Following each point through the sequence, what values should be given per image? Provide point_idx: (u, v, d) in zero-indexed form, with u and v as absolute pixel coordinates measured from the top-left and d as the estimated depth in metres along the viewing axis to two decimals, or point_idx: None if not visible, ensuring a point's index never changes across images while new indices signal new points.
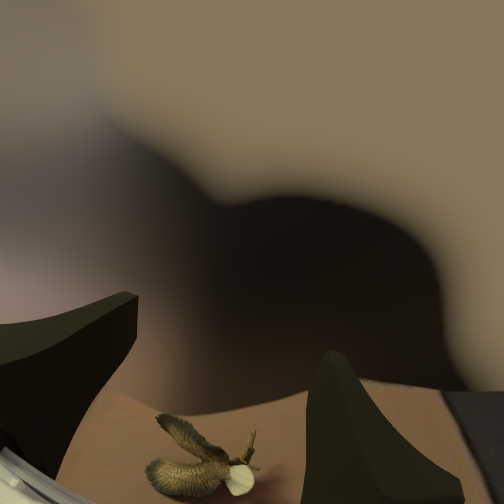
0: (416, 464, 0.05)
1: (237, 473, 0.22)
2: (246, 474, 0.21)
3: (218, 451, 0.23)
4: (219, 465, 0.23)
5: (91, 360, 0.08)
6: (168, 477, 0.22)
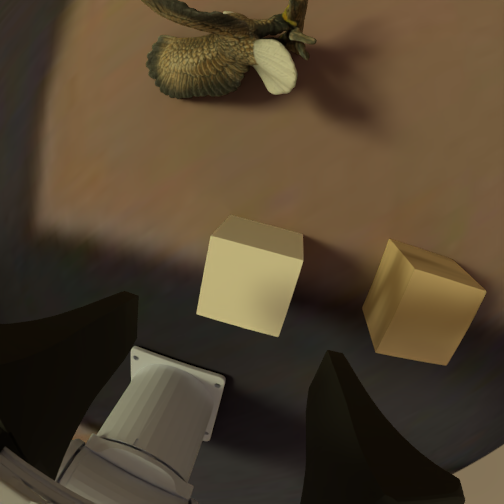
0: (416, 464, 0.05)
1: (266, 55, 0.12)
2: (281, 59, 0.11)
3: (220, 19, 0.10)
4: (235, 40, 0.12)
5: (91, 360, 0.08)
6: (169, 71, 0.15)
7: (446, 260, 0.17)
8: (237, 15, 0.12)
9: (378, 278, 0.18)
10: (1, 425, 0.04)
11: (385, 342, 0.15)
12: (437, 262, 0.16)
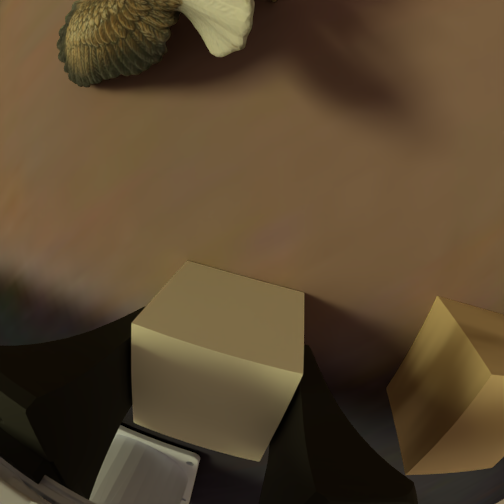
0: (366, 462, 0.05)
1: None
2: None
3: None
4: None
5: (126, 375, 0.08)
6: (70, 47, 0.08)
7: None
8: None
9: (417, 356, 0.11)
10: (42, 455, 0.04)
11: (422, 463, 0.08)
12: None
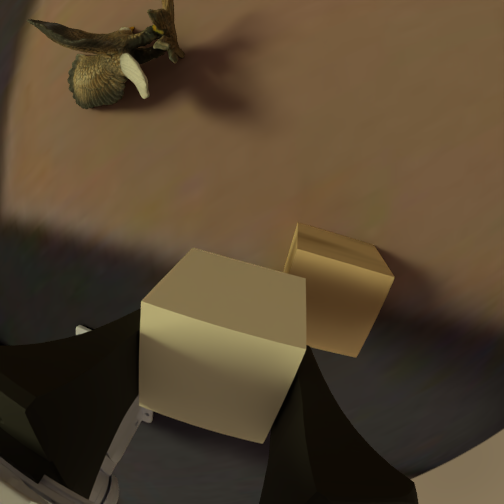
0: (366, 462, 0.05)
1: (127, 67, 0.13)
2: (134, 69, 0.13)
3: (89, 44, 0.12)
4: (108, 57, 0.13)
5: (126, 375, 0.08)
6: (76, 86, 0.16)
7: (362, 245, 0.18)
8: (119, 32, 0.13)
9: (286, 262, 0.19)
10: (42, 454, 0.04)
11: None
12: (344, 246, 0.17)
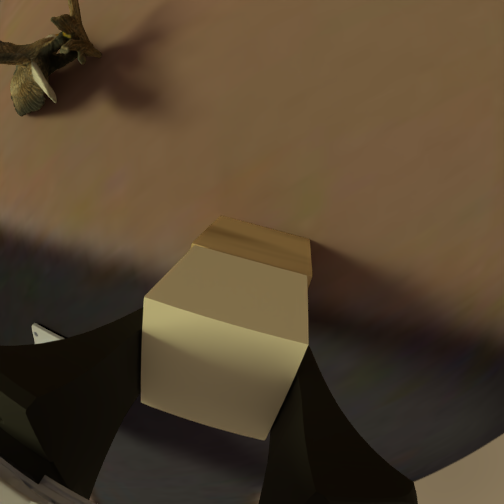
0: (366, 462, 0.05)
1: (35, 75, 0.11)
2: (38, 76, 0.11)
3: (4, 58, 0.10)
4: (24, 67, 0.12)
5: (126, 375, 0.08)
6: (12, 96, 0.15)
7: (291, 239, 0.16)
8: (38, 41, 0.12)
9: None
10: (42, 455, 0.04)
11: None
12: (262, 240, 0.15)
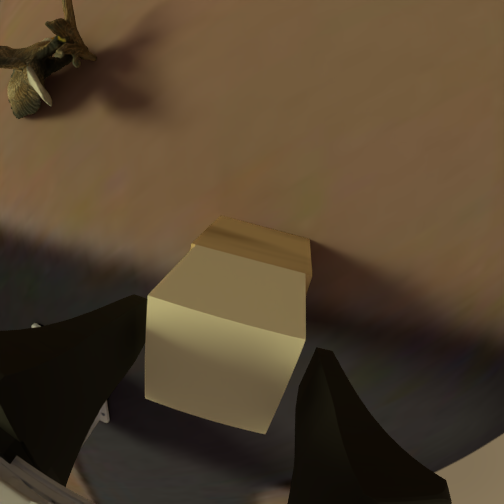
0: (401, 464, 0.05)
1: (31, 79, 0.12)
2: (33, 81, 0.11)
3: (0, 62, 0.10)
4: (20, 71, 0.12)
5: (102, 365, 0.08)
6: (9, 99, 0.15)
7: (290, 239, 0.16)
8: (34, 45, 0.12)
9: None
10: (13, 434, 0.04)
11: None
12: (262, 240, 0.15)
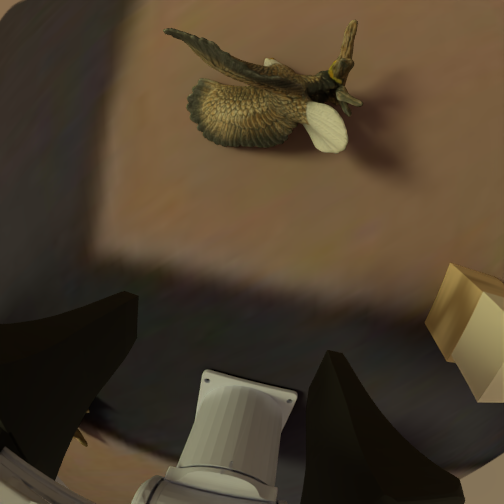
0: (416, 464, 0.05)
1: (318, 118, 0.14)
2: (334, 124, 0.13)
3: (278, 82, 0.12)
4: (288, 99, 0.14)
5: (91, 360, 0.08)
6: (215, 120, 0.17)
7: (493, 279, 0.18)
8: (285, 69, 0.14)
9: (442, 297, 0.19)
10: (1, 425, 0.04)
11: None
12: (490, 282, 0.17)
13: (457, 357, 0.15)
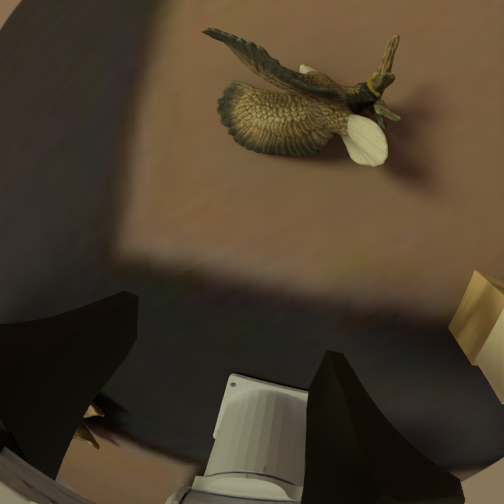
0: (416, 464, 0.05)
1: (359, 131, 0.14)
2: (375, 139, 0.13)
3: (325, 94, 0.12)
4: (329, 110, 0.14)
5: (91, 360, 0.08)
6: (249, 125, 0.17)
7: None
8: (324, 78, 0.14)
9: (466, 303, 0.19)
10: (1, 425, 0.04)
11: None
12: None
13: (481, 362, 0.15)
